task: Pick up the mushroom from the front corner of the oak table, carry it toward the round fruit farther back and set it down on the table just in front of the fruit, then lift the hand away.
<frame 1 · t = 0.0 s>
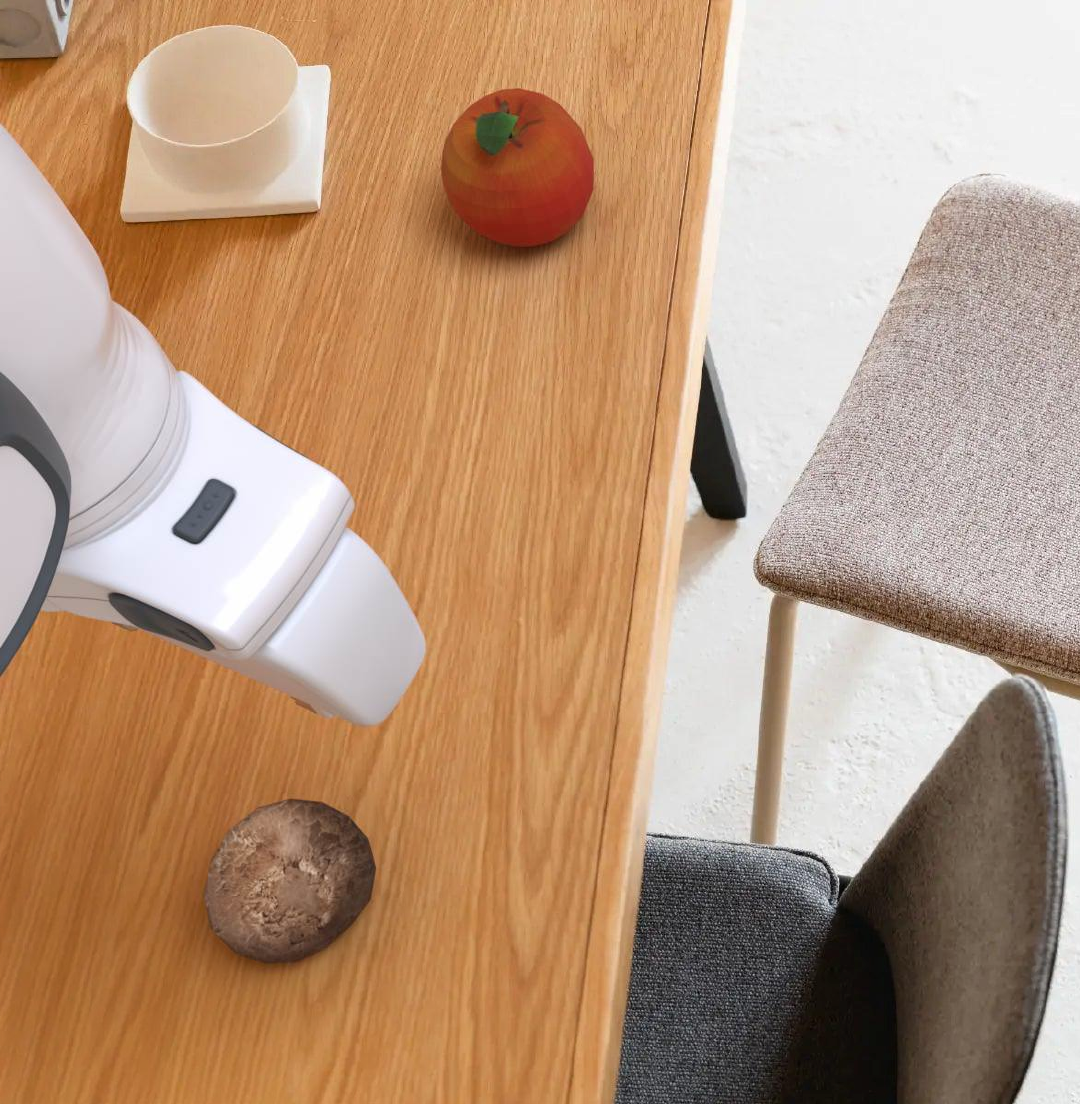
hand: (229, 653, 59), 20 cm above the table, tool pointing down, fingers open, 8 cm apart
mushroom: (310, 898, 75), on the table
fruit: (532, 216, 97), on the table
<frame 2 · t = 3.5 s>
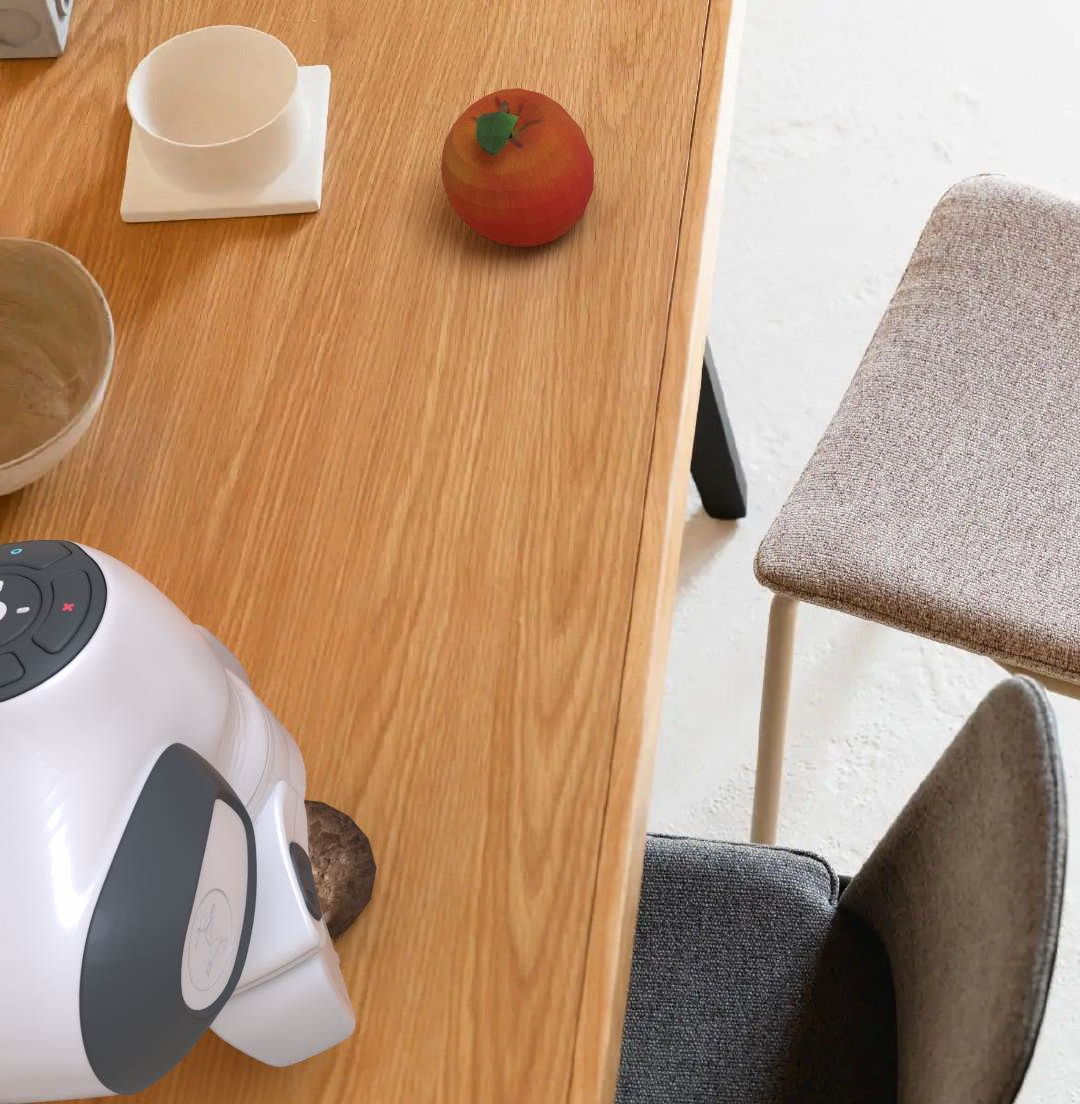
hand: (298, 884, 73), 2 cm above the table, tool pointing down, fingers closed on mushroom, 7 cm apart
mushroom: (311, 898, 75), on the table, touching gripper
everything else where it was.
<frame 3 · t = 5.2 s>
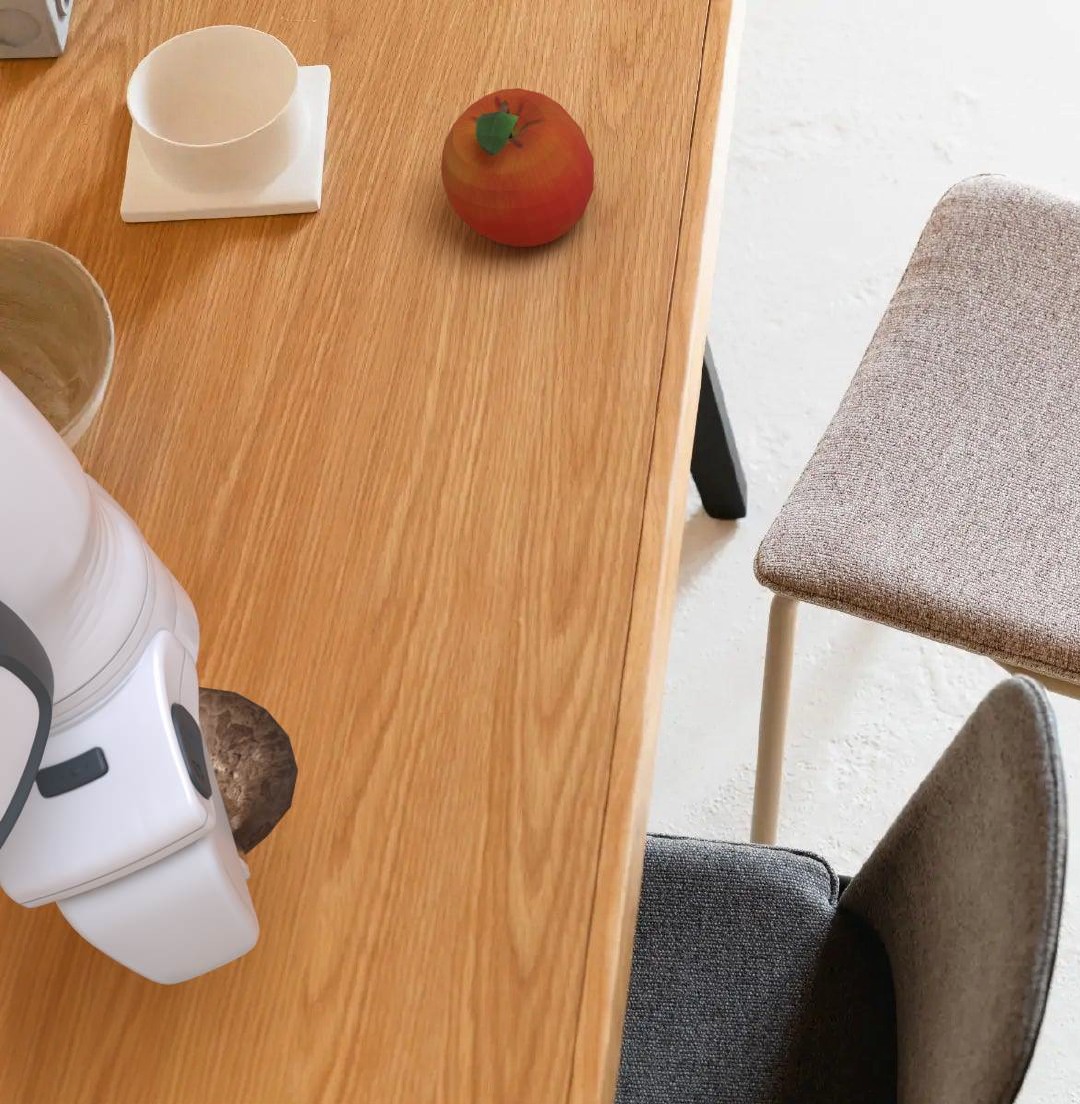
hand: (204, 788, 63), 14 cm above the table, tool pointing down, fingers closed on mushroom, 7 cm apart
mushroom: (223, 808, 65), point 12 cm above the table, touching gripper
everything else where it was.
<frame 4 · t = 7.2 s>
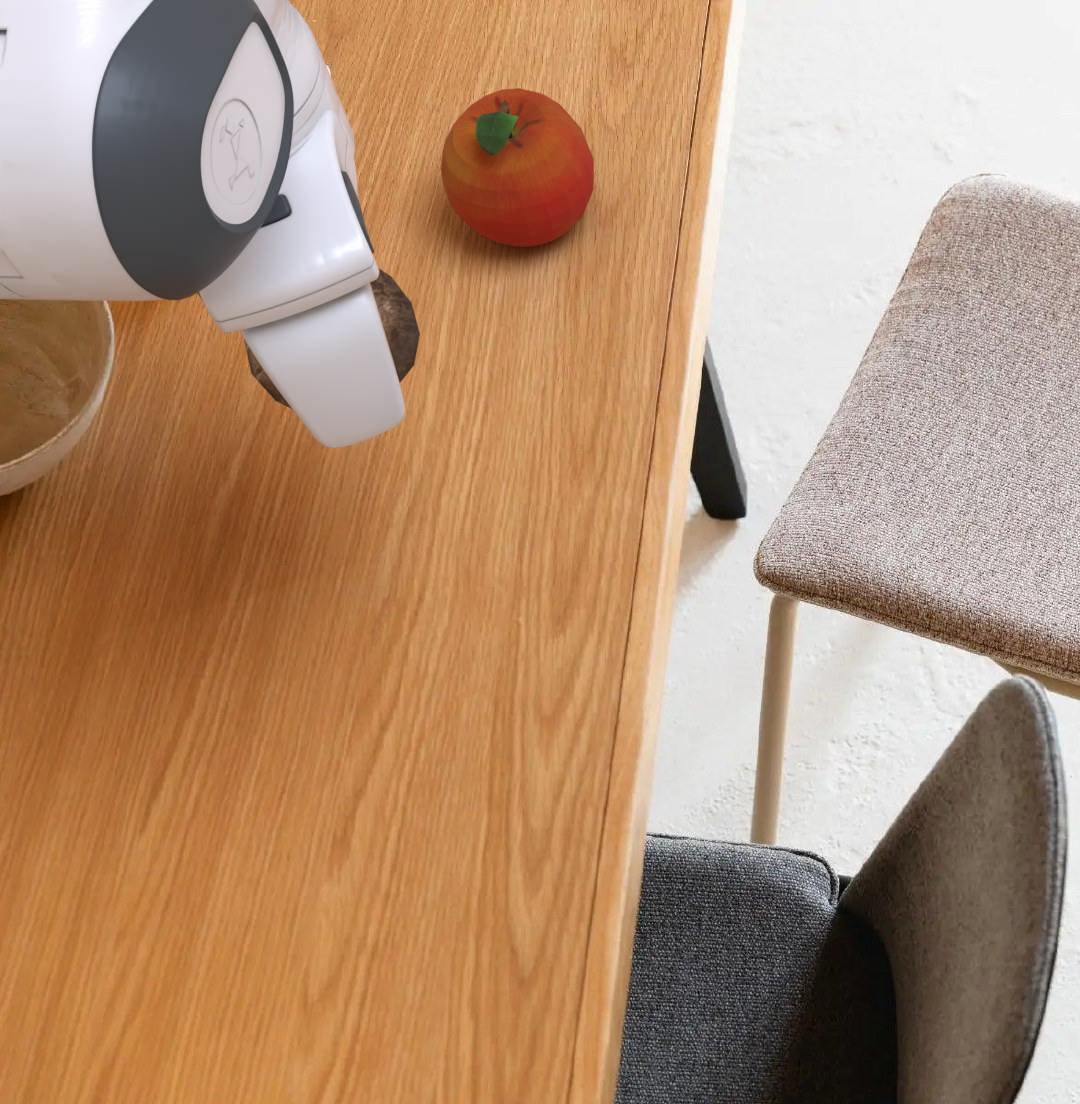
hand: (339, 344, 71), 17 cm above the table, tool pointing down, fingers closed on mushroom, 7 cm apart
mushroom: (352, 374, 73), point 15 cm above the table, touching gripper
everything else where it was.
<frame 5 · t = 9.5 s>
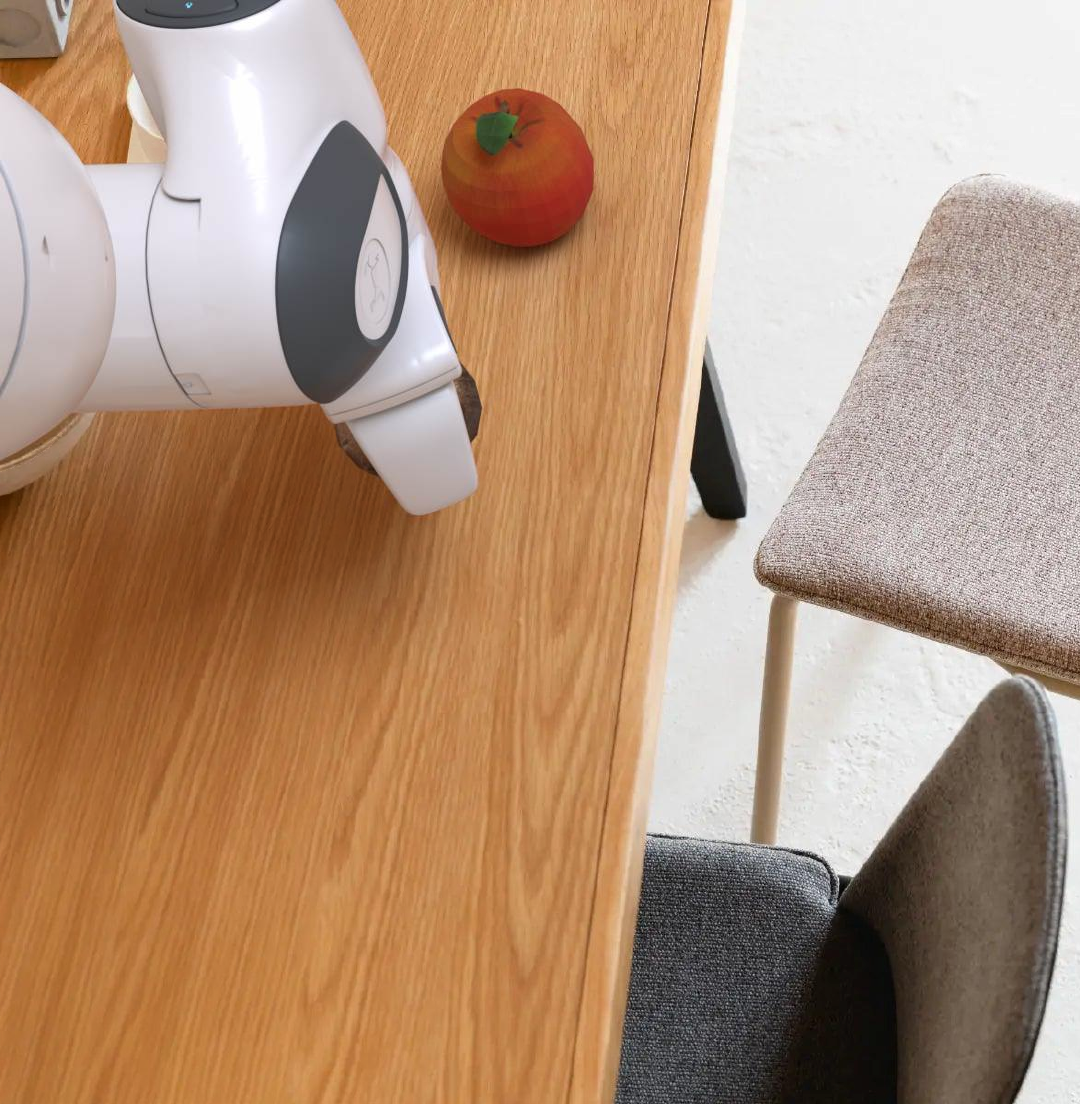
hand: (412, 418, 81), 6 cm above the table, tool pointing down, fingers closed on mushroom, 7 cm apart
mushroom: (421, 442, 83), point 4 cm above the table, touching gripper
everything else where it was.
when the fingers open (2 cm above the table, at t = 11.1 s): mushroom stays where it is, on the table.
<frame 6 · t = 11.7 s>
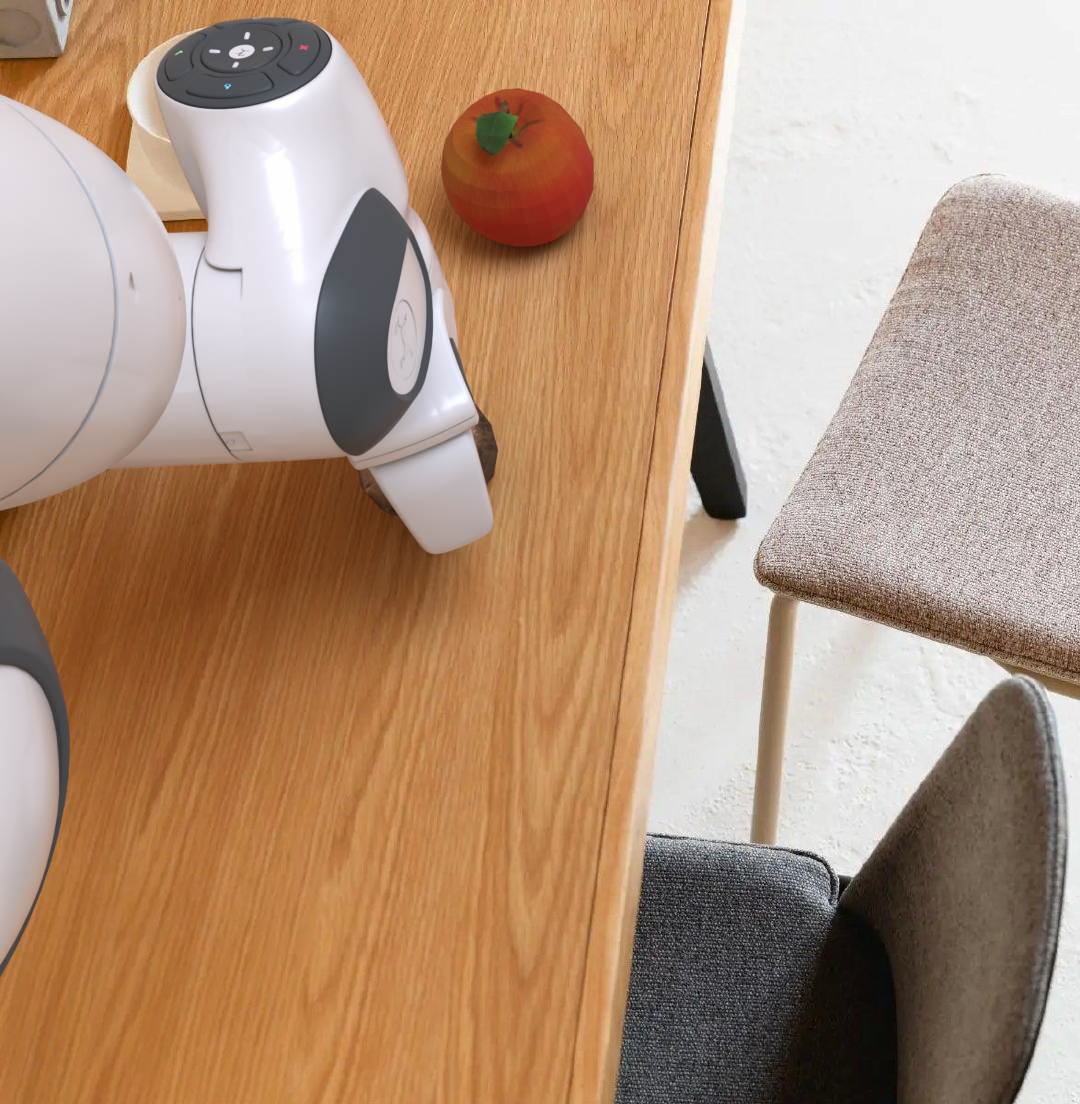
hand: (428, 456, 85), 3 cm above the table, tool pointing down, fingers open, 8 cm apart
mushroom: (440, 482, 87), on the table
everything else where it was.
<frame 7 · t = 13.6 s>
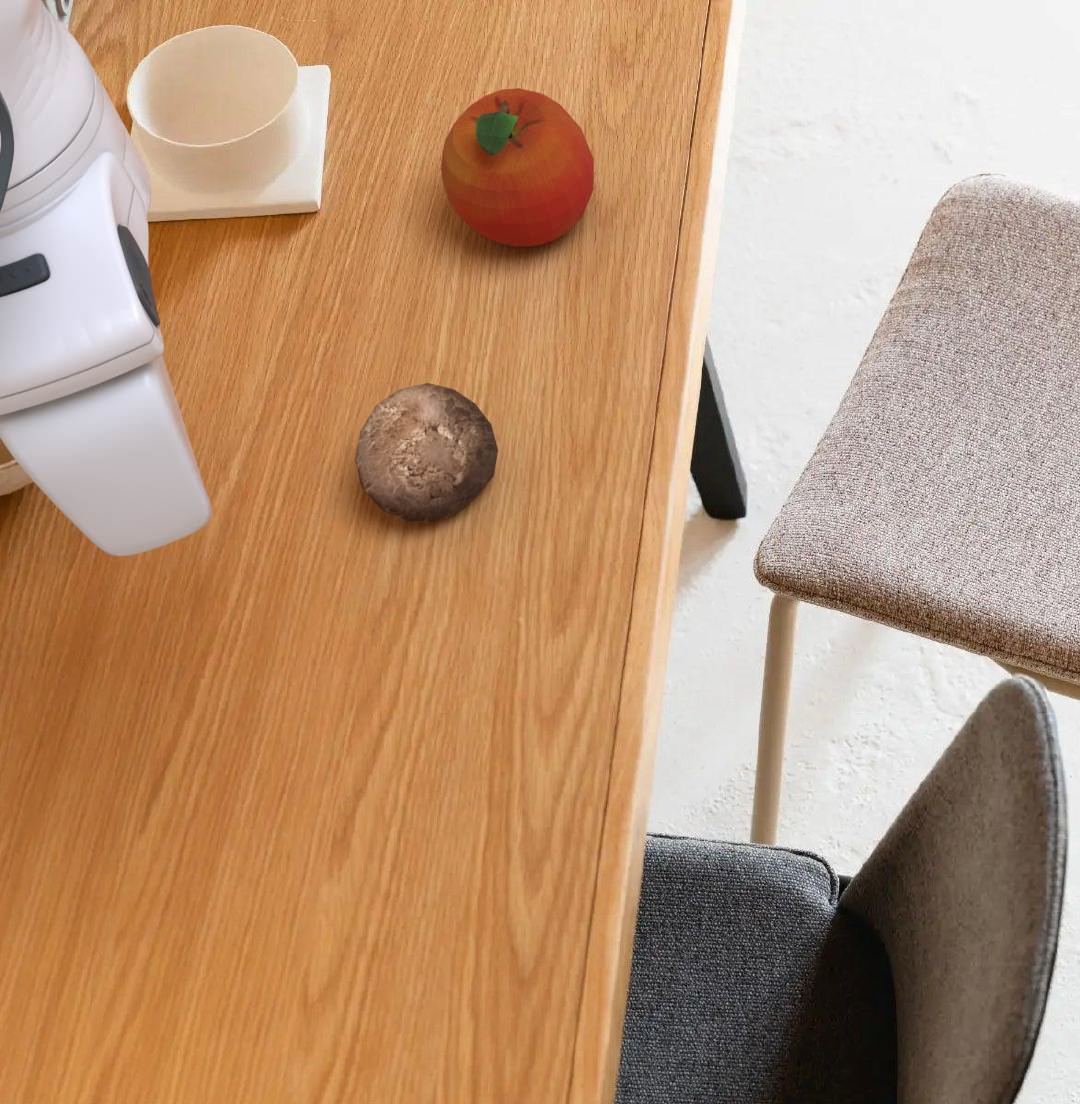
hand: (160, 425, 61), 24 cm above the table, tool pointing down, fingers open, 8 cm apart
nothing on the table moved.
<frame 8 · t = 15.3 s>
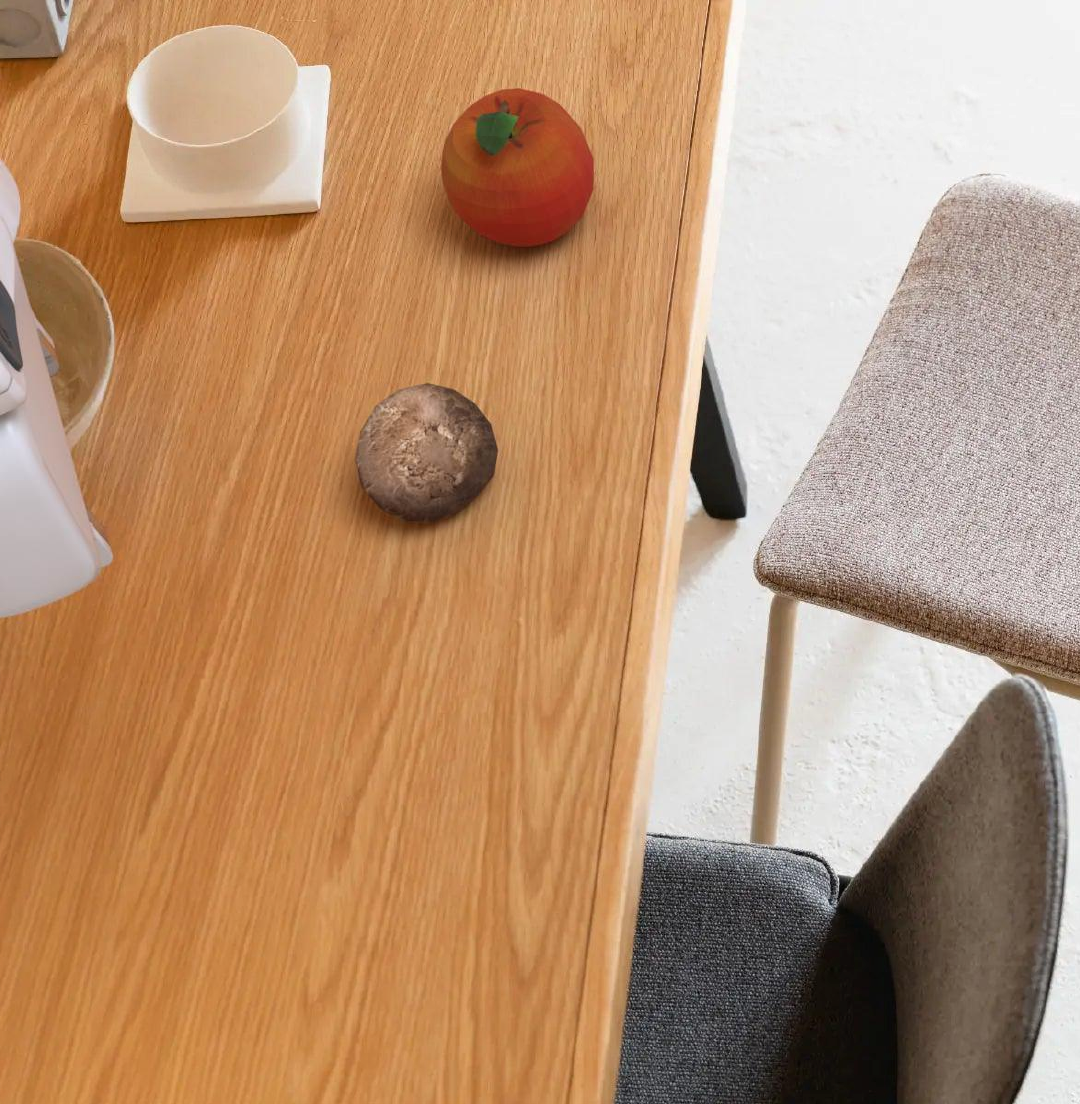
hand: (62, 458, 56), 27 cm above the table, tool pointing down, fingers open, 8 cm apart
nothing on the table moved.
at the end: mushroom inside the target area on the table beside the fruit (0.1 cm from its centre), on the table; the gripper is holding nothing; fruit moved 0.2 cm from its start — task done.
